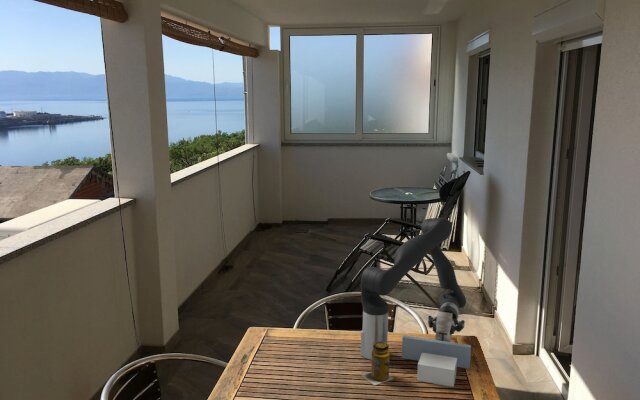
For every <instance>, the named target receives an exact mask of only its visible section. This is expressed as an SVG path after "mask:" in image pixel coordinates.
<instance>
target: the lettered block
mask: <svg viewBox="0 0 640 400" xmlns="http://www.w3.org/2000/svg"><path fill="white" fill-rule="evenodd" d="M436 316H437V321H436V333H435V339H434V340H439V341H446V342H452V335H450V329H451V326H452V313H446V312H439V311H438V312H437V315H436Z"/></svg>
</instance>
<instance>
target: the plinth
mask: <svg viewBox="0 0 640 400" xmlns="http://www.w3.org/2000/svg"><path fill="white" fill-rule="evenodd" d="M457 370H458V367H457V358H454V357H447V356H441V355H434V354H428V353H422V354H421V357H420V360H419V361H418V363H417V376H416V380H417V382H423V383H429V384H435V385H439V386H445V387H451V388H454V387H455V383H456V378H457Z"/></svg>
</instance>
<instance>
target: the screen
mask: <svg viewBox="0 0 640 400" xmlns="http://www.w3.org/2000/svg"><path fill="white" fill-rule="evenodd" d="M401 340H402V341H401V342H402V343H401V348H402V349H401V359H406V360H414V361H418V362H419V360H420V357H421V354H422V353H428V354H434V355H441V356H447V357H454V358H457V368H463V369H470V367H471V353H472V345H471V344H464V343H460V342H459V343H458V342H452V341H451V342H446V341H439V340H435V339H431V338H423V337H418V336H411V335H406V334H404V335H403V336H402V339H401Z"/></svg>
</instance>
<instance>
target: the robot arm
mask: <svg viewBox="0 0 640 400" xmlns="http://www.w3.org/2000/svg"><path fill="white" fill-rule="evenodd" d="M420 227H421V229H420V230H421V234H419V235H417V236H414V237H411V238H409V239H407V240H406V241H405V242H403V244H402V245H400V246H399V247H398V248H397V250H396V251H395V253H394V264H392V265H391V267H390V268H388V269H383V268H380V267H375V266H367V267H366V268H364V270H363V272H362V275H361V277H360V278H361V279H360V295H361V296H360V300H361V305H362V330H361V332H360V357H364V358H365V359H367V360H371V361H372V351H373V344H374V343H375V342H386V343H387V344H388V335H389V334H388V333H389V332H388V331H389V330H388V329H389V303H388V302H387V301H386V300H385V299H384V298H382V297H381V296H387V295H389V294H391V292H392V291H393V290H394V289H395V287H396V286H398V284H399V283H400V281H402V279H403V278H404V277H406V275H407V274H408V273H409V272H410V271H411V270H412V269H413V268H414V267H415V266H417V265H418V264H419V263H420V262H421V261H422V260H424V258H425V257H426V256H427V255H428V254H430V257H431V260H432V261H433V264H434V267H435V269H436V274H437V277H438V281H439V282H438V283H439V286H440V287H441V289H445V290H451V292H444V293H441V295H439V304H440V307H439V310H438V312H446V313H452V326H451V329H450V335H451V336H452V335H454V334H455V333H456V332H458V333H460V332H462V330H463V329H464V328H465V323H466V322H465V320H462V319H461V320H458V319H459V314H460V313H459V312H460V309H463V308H464V307H465V306H466V305H467V298H466V295H465V294H464V293H463V291H462V289H461V287H460V285H459V283H458V281H457V277H456V272H455V269H454V266H453V264H452V262H451V261H450V259H449V258H448V257H447V256H446V255H445V253H444V252H443V250H442V249H441V247H440V245H441V244H442V243H444V242H445V241H446V240H448V239H449V238H450V236H451V234H452V230H453V225H452V222H451V220H449V219H447V218H445V217H432V218H426V219H424V220H423V221H422V223H421V226H420ZM427 317H428V318H427V324H428V328H430V329H432V332H433V333H435V334H436V321H437V315H436V316H435V317H432V315H428V316H427Z"/></svg>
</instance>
